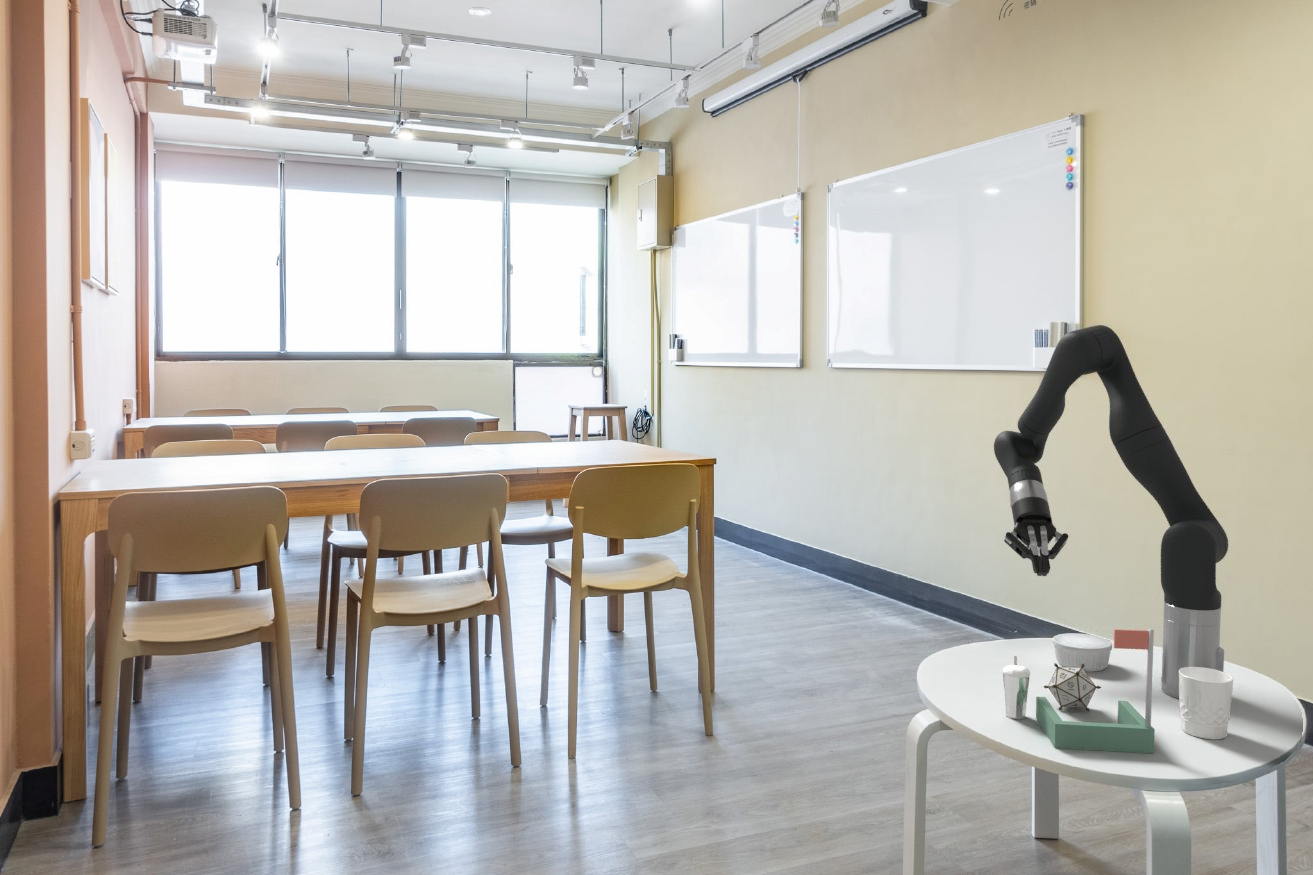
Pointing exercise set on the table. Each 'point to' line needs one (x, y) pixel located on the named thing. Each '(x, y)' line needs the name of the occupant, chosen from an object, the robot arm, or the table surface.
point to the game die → (1072, 687)
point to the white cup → (1205, 701)
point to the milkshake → (1016, 689)
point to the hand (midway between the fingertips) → (1042, 573)
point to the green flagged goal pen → (1105, 736)
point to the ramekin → (1082, 651)
